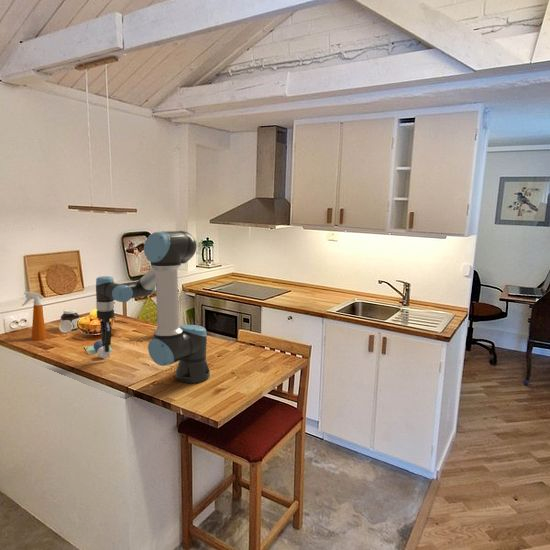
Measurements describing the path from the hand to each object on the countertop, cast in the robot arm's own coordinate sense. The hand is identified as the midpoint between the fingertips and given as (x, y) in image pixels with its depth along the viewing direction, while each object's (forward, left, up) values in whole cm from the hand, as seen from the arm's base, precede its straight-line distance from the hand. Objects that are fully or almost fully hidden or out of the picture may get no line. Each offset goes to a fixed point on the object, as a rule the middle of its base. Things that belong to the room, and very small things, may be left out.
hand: (106, 357), depth 195 cm
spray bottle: (+50, +26, -2) cm, 56 cm away
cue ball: (+6, 0, +1) cm, 6 cm away
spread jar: (+59, +8, -2) cm, 60 cm away
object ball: (+16, 0, +1) cm, 16 cm away
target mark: (+19, 0, -2) cm, 19 cm away
